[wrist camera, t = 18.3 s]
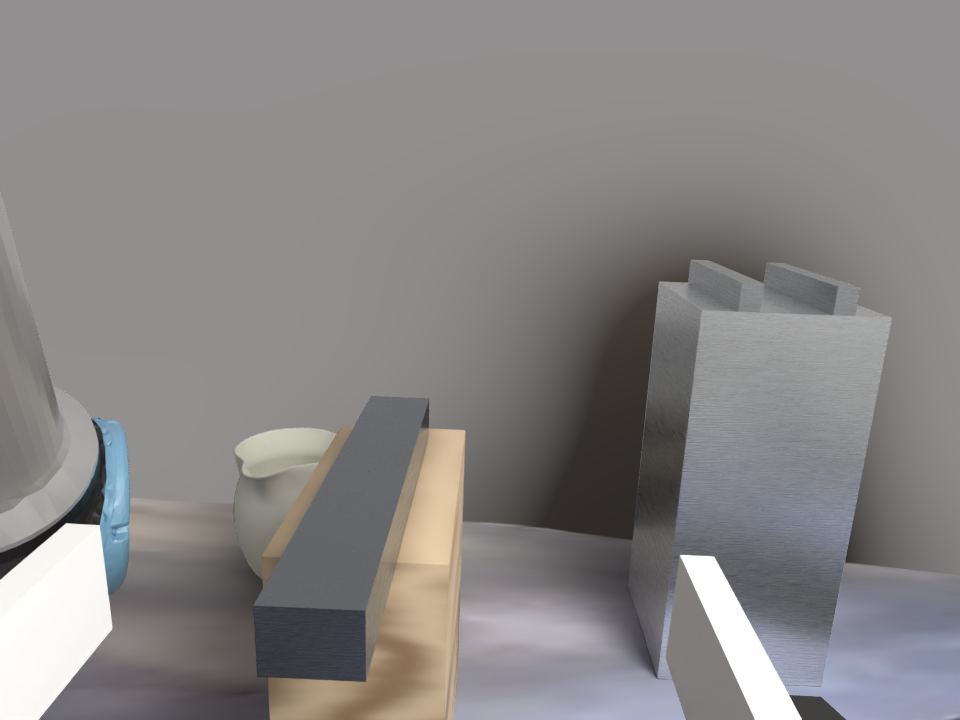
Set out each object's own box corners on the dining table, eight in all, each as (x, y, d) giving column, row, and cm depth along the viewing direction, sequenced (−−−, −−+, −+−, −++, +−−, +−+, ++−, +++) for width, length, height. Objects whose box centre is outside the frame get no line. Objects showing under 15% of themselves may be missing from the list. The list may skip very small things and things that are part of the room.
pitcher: (380, 528, 78) (380, 411, 74) (317, 629, 60) (313, 483, 57) (287, 517, 79) (282, 402, 76) (200, 612, 62) (189, 469, 58)
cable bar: (257, 676, 26) (253, 605, 25) (371, 437, 49) (371, 396, 48) (366, 682, 26) (365, 610, 25) (428, 439, 49) (429, 398, 48)
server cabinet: (657, 679, 56) (705, 281, 47) (627, 585, 68) (661, 258, 60) (823, 686, 56) (900, 288, 47) (763, 591, 68) (815, 264, 60)
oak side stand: (278, 885, 39) (261, 556, 33) (346, 664, 56) (342, 425, 51) (440, 893, 39) (449, 564, 33) (457, 669, 56) (465, 430, 51)
